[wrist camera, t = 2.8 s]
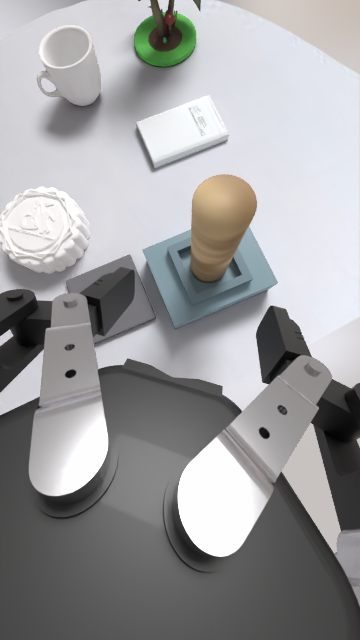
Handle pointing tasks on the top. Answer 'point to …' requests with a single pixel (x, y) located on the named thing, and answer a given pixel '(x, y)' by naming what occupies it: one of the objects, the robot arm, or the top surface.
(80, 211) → the mooncake
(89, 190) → the top surface
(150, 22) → the mushroom figurine
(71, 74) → the teacup
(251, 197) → the oak stopper
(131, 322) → the grey rubber coaster
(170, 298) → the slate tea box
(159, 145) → the external hard drive
